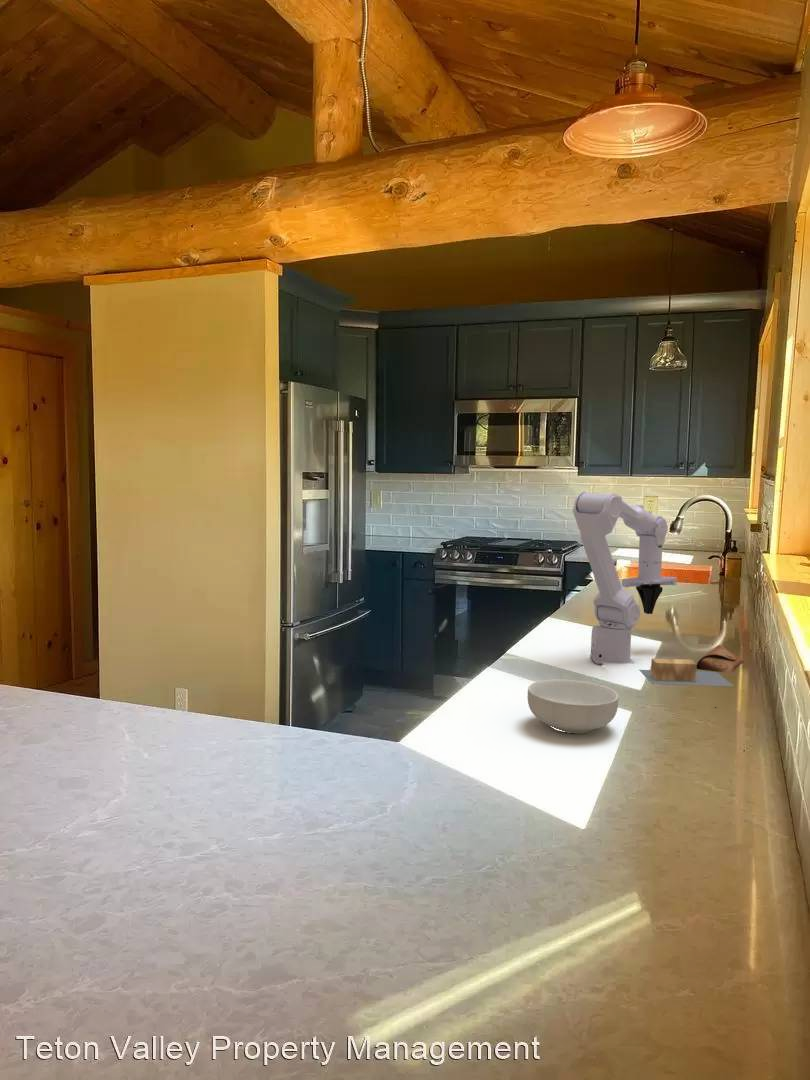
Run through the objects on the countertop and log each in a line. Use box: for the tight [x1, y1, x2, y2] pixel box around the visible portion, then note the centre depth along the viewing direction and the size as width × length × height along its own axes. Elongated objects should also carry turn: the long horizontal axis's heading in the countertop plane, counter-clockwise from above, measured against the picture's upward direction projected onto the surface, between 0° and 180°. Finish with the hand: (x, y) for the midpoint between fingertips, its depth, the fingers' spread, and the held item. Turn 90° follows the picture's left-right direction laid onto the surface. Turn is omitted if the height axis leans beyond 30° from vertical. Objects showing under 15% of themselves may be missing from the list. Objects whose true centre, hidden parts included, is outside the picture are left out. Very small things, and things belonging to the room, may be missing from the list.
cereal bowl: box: [527, 679, 620, 735], centre depth 150 cm, size 17×17×7 cm
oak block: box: [650, 658, 697, 681], centre depth 183 cm, size 4×4×9 cm
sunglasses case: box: [696, 644, 747, 674], centre depth 197 cm, size 18×7×7 cm, turn 147°
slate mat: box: [639, 669, 734, 687], centre depth 184 cm, size 18×12×1 cm, turn 87°
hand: (648, 613), depth 209 cm, fingers closed
